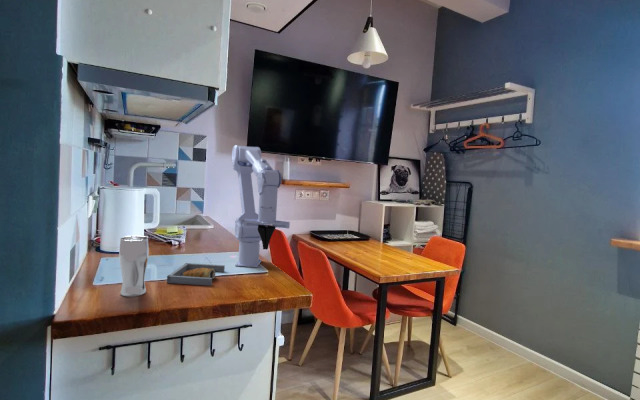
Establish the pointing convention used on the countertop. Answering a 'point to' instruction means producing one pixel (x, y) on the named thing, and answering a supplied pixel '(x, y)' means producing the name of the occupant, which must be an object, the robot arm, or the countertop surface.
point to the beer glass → (133, 264)
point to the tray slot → (179, 279)
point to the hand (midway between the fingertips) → (265, 248)
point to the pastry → (200, 273)
